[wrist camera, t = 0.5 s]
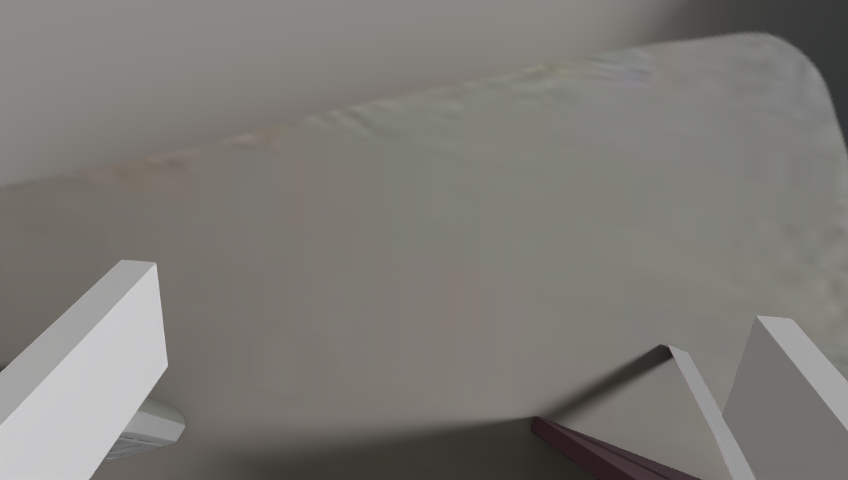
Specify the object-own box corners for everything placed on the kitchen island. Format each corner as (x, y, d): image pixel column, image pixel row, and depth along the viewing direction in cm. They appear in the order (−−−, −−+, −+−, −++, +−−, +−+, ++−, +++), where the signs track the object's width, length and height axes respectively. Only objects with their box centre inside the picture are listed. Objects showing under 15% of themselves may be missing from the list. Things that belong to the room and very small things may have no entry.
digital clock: (-71, 498, 42) (-204, 581, 31) (-74, 359, 42) (-207, 395, 31) (190, 477, 44) (148, 548, 34) (187, 346, 44) (144, 375, 34)
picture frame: (530, 430, 48) (749, 619, 23) (577, 307, 49) (837, 363, 24) (721, 503, 50) (1106, 746, 25) (763, 384, 51) (1177, 509, 26)
